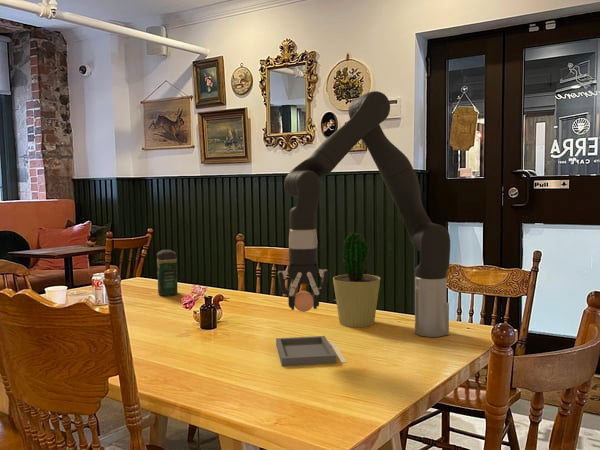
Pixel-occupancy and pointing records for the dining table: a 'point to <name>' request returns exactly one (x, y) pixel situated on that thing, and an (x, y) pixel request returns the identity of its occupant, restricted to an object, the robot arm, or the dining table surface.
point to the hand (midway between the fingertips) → (303, 308)
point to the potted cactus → (356, 286)
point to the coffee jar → (167, 272)
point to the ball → (303, 301)
